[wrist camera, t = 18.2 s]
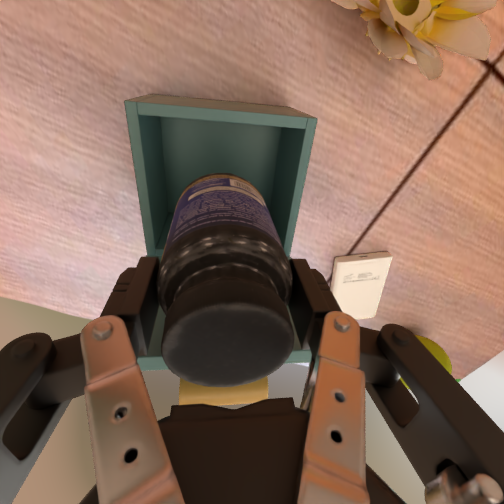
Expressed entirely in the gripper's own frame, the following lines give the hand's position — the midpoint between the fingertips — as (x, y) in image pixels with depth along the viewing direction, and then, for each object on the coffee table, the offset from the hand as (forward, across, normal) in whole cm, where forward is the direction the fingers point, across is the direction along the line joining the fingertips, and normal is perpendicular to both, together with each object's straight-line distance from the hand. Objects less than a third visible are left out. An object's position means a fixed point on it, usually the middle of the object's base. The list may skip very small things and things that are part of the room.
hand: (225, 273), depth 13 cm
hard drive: (+20, -22, +18) cm, 34 cm away
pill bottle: (+7, 0, 0) cm, 7 cm away
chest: (+20, 0, 0) cm, 20 cm away
